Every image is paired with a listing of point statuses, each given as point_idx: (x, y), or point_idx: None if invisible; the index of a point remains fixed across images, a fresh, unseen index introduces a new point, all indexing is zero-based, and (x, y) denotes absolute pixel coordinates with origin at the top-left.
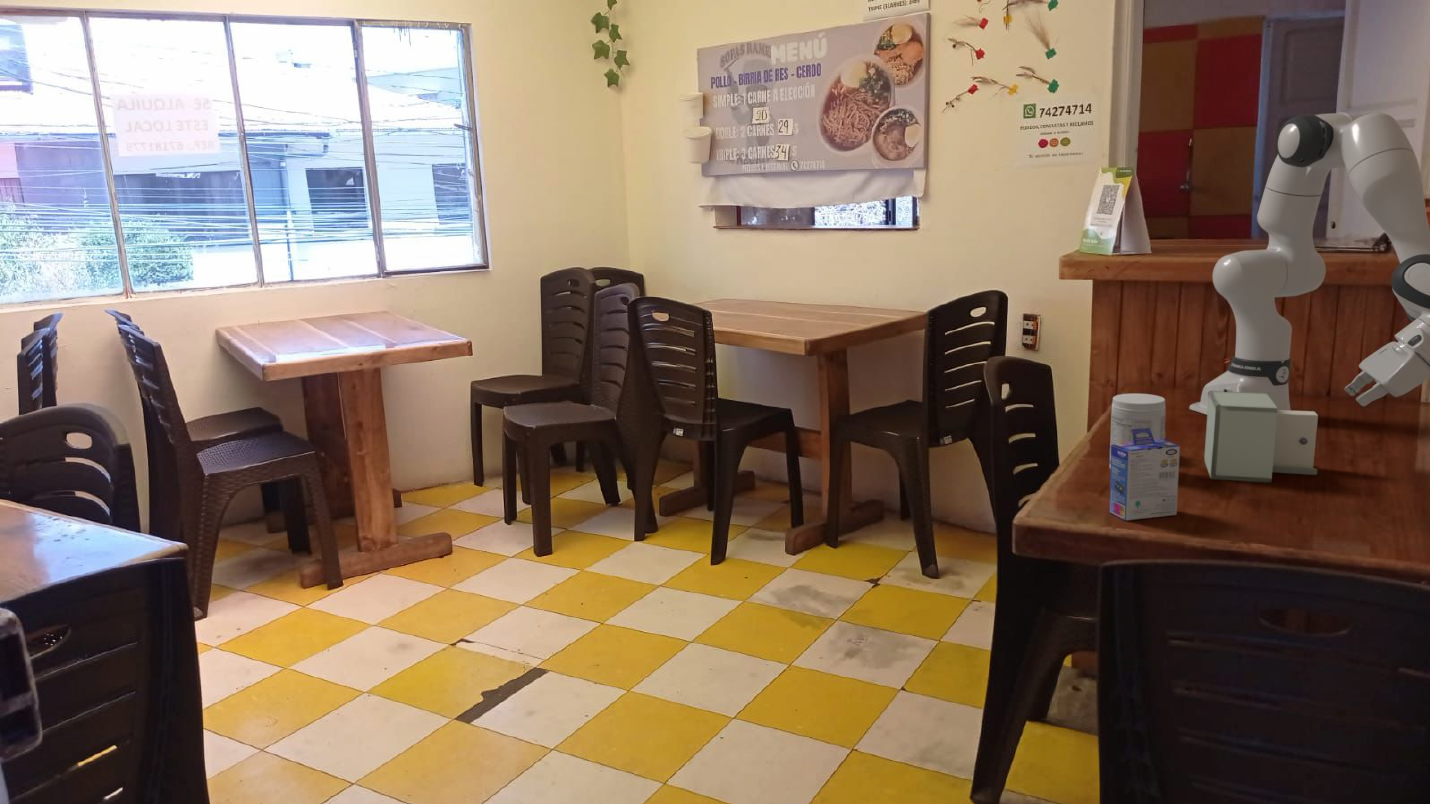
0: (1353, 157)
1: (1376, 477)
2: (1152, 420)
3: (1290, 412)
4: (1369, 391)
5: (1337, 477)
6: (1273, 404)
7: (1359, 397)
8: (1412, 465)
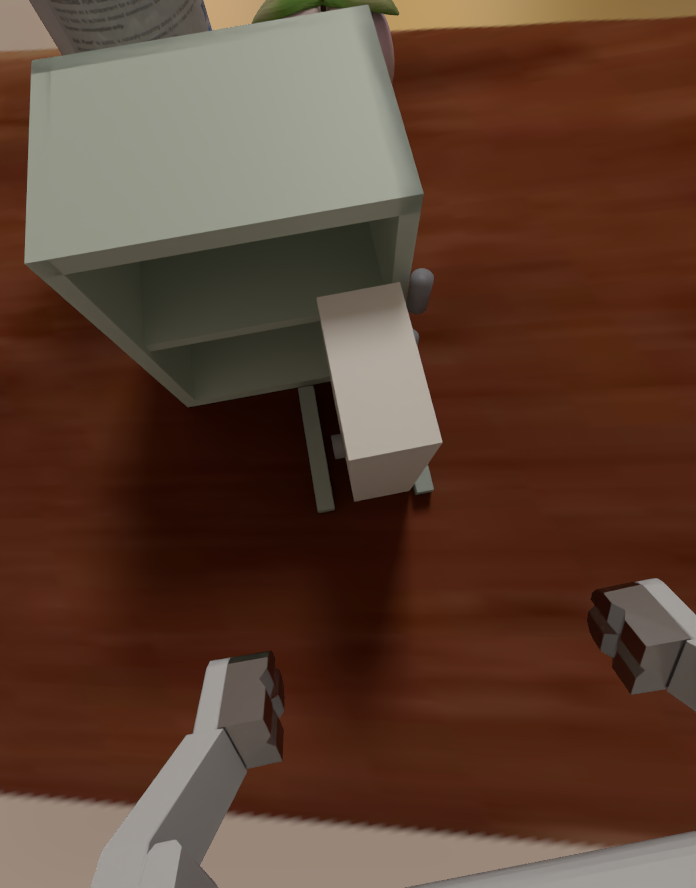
0: None
1: (365, 684)
2: None
3: (370, 349)
4: (153, 782)
5: (316, 569)
6: (121, 241)
7: (205, 680)
8: (602, 821)
